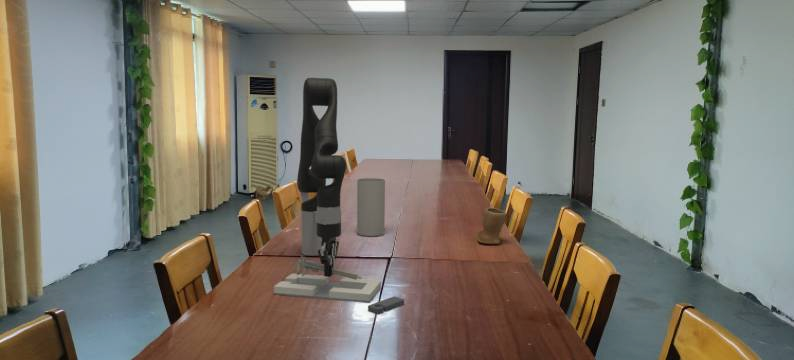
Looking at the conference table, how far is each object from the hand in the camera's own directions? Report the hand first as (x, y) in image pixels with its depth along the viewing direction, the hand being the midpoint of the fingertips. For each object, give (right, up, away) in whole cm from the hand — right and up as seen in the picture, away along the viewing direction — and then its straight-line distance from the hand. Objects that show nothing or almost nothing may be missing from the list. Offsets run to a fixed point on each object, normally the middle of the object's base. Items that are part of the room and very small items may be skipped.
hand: (328, 275), depth 170 cm
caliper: (0, -1, 0) cm, 1 cm away
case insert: (0, -5, +1) cm, 5 cm away
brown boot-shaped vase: (+62, +2, +70) cm, 93 cm away
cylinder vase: (+9, +5, +81) cm, 82 cm away
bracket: (+18, -8, -13) cm, 23 cm away
